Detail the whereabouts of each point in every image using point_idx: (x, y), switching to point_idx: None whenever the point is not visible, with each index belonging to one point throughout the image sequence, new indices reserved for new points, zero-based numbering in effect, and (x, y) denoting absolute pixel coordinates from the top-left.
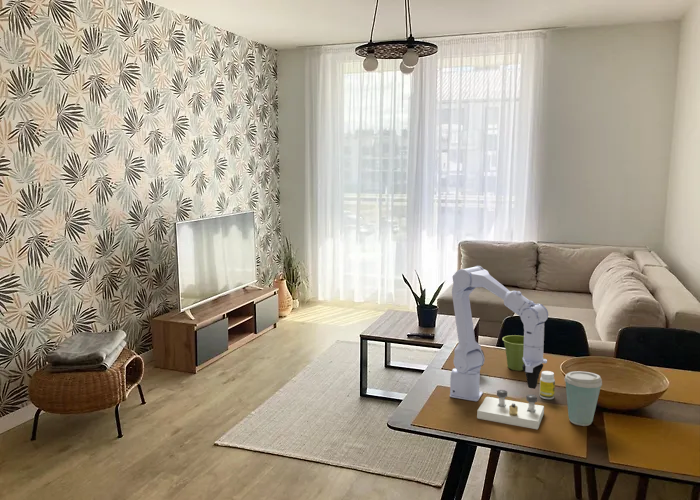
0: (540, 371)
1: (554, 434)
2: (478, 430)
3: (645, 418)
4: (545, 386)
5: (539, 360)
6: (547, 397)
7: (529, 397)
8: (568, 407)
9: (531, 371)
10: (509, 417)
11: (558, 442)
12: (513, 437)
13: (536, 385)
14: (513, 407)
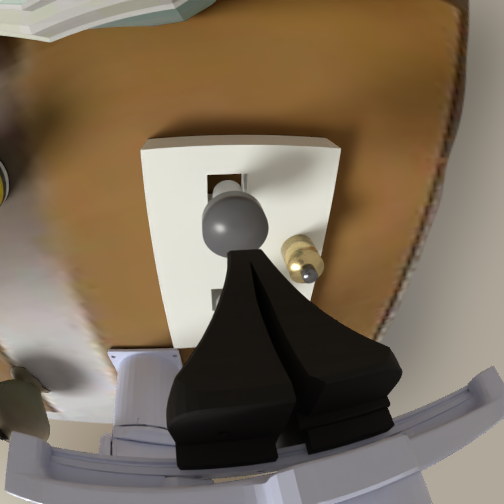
0: (389, 349)
1: (348, 74)
2: (367, 293)
3: None
4: None
5: (418, 485)
6: (2, 173)
7: (255, 239)
8: (191, 13)
9: (495, 377)
10: (319, 252)
11: (403, 66)
12: (397, 207)
13: (249, 258)
14: (314, 268)
